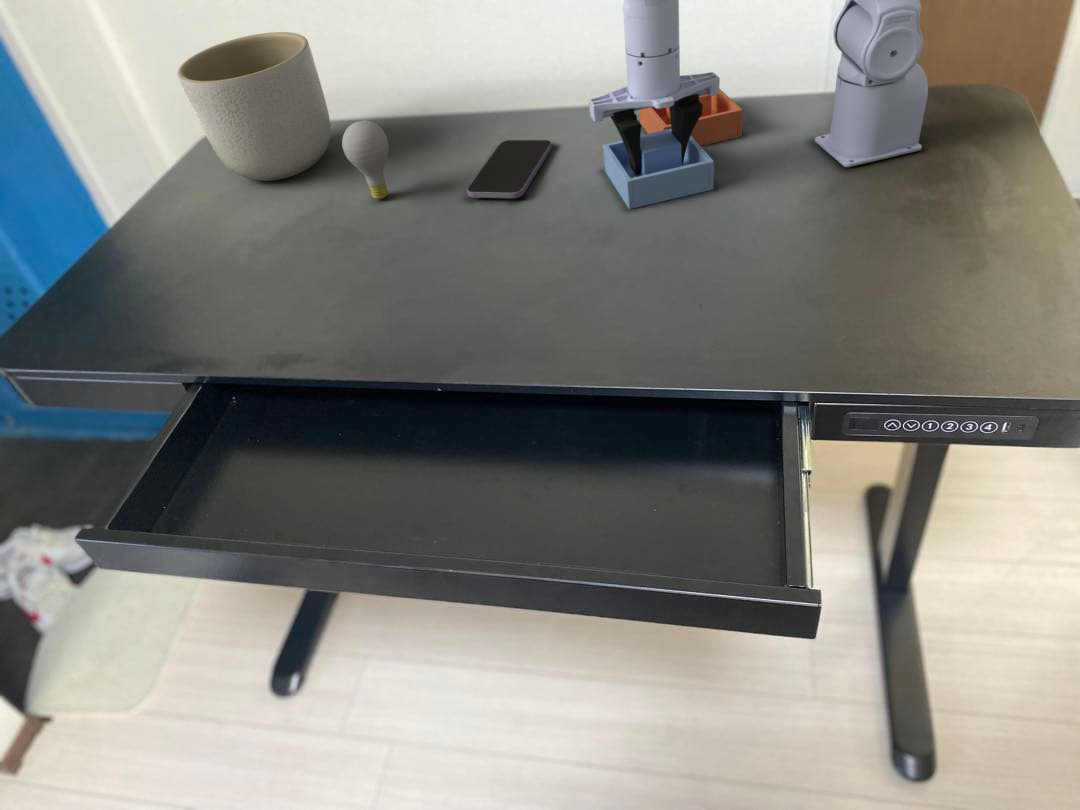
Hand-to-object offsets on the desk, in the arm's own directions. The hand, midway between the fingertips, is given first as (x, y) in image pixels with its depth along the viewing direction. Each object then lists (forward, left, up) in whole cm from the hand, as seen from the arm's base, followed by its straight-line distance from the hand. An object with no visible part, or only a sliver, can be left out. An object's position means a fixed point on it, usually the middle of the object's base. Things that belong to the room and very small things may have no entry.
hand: (656, 165), depth 94 cm
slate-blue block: (0, 0, -1) cm, 1 cm away
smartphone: (+16, -10, -2) cm, 19 cm away
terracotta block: (-8, -11, -1) cm, 14 cm away
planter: (+46, -28, -2) cm, 54 cm away
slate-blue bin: (0, 0, -2) cm, 2 cm away
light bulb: (+33, -11, -2) cm, 35 cm away
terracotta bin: (-8, -11, -2) cm, 14 cm away
